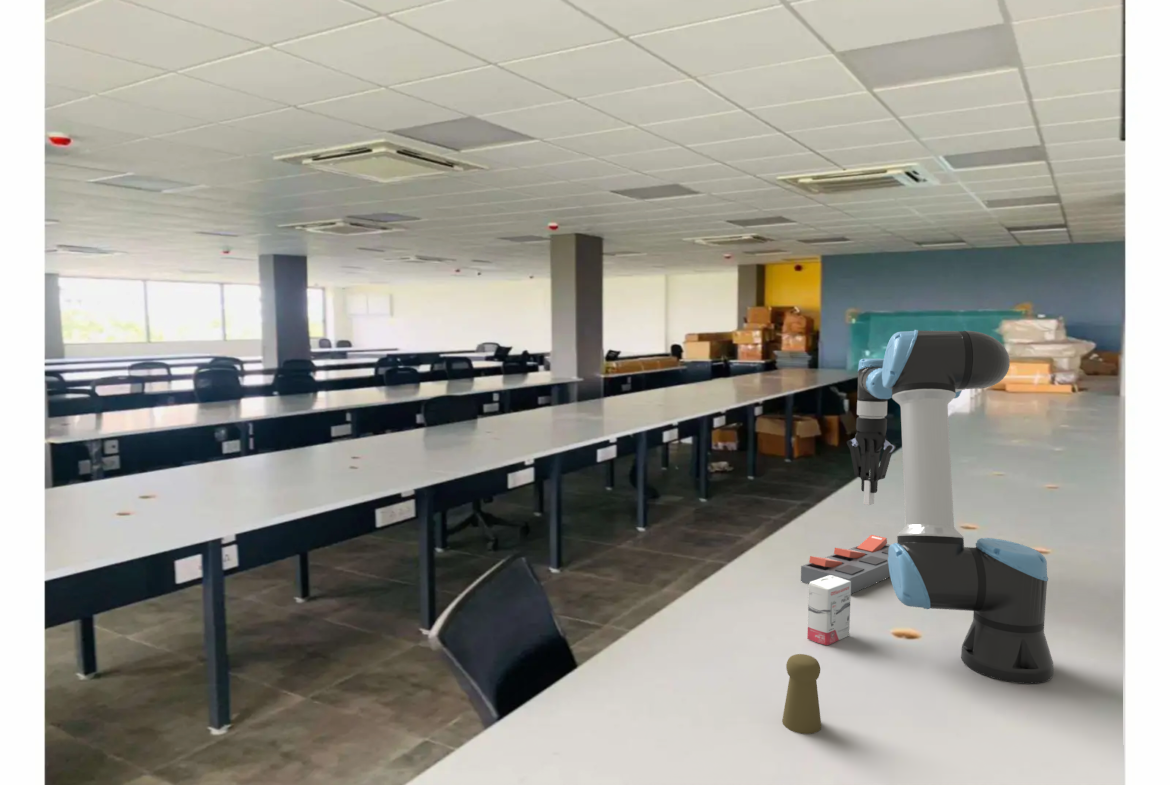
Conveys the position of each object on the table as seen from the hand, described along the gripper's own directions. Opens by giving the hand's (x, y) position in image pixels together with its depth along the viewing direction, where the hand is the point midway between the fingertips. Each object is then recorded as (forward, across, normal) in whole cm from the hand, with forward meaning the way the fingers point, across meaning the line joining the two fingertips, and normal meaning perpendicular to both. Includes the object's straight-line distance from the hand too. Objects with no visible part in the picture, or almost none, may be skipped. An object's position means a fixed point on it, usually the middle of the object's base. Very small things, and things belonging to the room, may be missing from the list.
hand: (868, 504), depth 205 cm
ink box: (+17, -20, +52) cm, 58 cm away
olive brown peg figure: (+17, -36, +86) cm, 95 cm away
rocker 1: (+12, 0, +20) cm, 24 cm away
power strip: (+16, -3, +4) cm, 17 cm away
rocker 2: (+12, 0, +9) cm, 15 cm away
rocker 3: (+12, 0, -3) cm, 12 cm away
